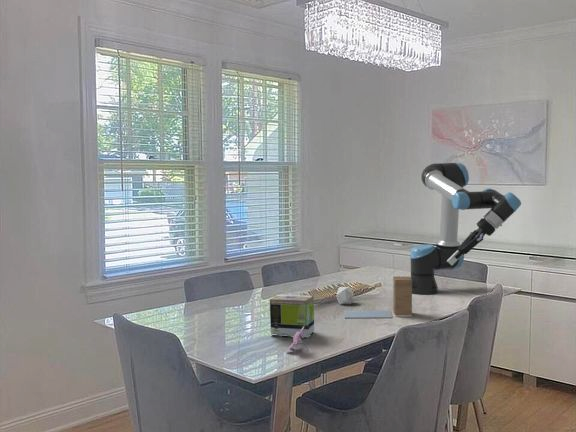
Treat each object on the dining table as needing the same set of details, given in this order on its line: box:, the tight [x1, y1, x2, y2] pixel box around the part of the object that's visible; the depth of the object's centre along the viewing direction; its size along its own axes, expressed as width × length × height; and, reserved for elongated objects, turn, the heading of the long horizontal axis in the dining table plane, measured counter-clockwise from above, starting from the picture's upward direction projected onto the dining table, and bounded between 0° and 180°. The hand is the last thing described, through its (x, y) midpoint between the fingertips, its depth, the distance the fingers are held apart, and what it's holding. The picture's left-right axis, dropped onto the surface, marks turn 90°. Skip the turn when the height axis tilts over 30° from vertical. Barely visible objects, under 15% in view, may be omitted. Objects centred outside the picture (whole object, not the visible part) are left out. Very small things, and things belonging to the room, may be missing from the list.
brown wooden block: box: [392, 275, 413, 318], centre depth 257 cm, size 7×7×16 cm
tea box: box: [269, 293, 315, 338], centre depth 231 cm, size 15×10×15 cm
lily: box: [287, 327, 308, 351], centre depth 211 cm, size 11×11×9 cm
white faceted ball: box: [335, 286, 355, 305], centre depth 280 cm, size 8×9×10 cm
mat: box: [343, 309, 393, 319], centre depth 259 cm, size 12×20×1 cm, turn 87°
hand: (449, 263), depth 255 cm, fingers closed
